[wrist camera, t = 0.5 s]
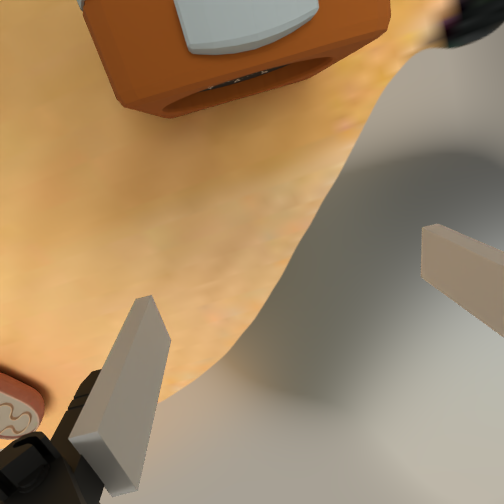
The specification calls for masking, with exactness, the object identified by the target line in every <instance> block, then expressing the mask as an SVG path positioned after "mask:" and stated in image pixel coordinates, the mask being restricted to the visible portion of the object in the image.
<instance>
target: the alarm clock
mask: <svg viewBox="0 0 504 504" xmlns="http://www.w3.org/2000/svg"><path fill="white" fill-rule="evenodd" d="M77 2H78V4H79V7H80V9H81V10H82V11H83V17H84V19H85V22H86V24H87V27H88V29H89V31H90V34H91V36H92V39H93V41H94V44H95V46H96V49H97V51H98V54H99V56H100V59H101V61H102V64H103V66H104V69H105V71H106V73H107V76H108V78H109V81H110V83H111V86H112V88H113V91H114V93H115V96H116V98H117V100H118V101H119V102H120V103H121V104H122V105H123V107H125V108H129V109H134V110H137V111H141V112H145V113H149V114H153V115H157V116H160V117H164V118H174V117H178V116H182V115H185V114H189V113H192V112H195V111H199V110H202V109H206V108H209V107H213V106H216V105H220V104H223V103H226V102H230V101H233V100H236V99H240V98H243V97H247V96H250V95H254V94H258V93H261V92H264V91H268V90H271V89H275V88H278V87H282V86H285V85H289V84H292V83H296V82H299V81H302V80H305V79H308V78H311V77H312V76H314V75H316V74H317V73H319V72H321V71H323V70H324V69H326V68H328V67H329V66H331V65H332V64H334V63H336V62H338V61H339V60H341V59H343V58H345V57H346V56H348V55H350V54H351V53H353V52H355V51H357V50H358V49H360V48H362V47H363V46H365V45H367V44H368V43H370V42H372V41H373V40H375V39H377V38H378V37H380V36H381V35H382V34H383V33H385V32H386V31H387V28H388V24H389V21H390V18H391V9H390V0H77Z"/></svg>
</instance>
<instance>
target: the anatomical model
mask: <svg viewBox="0 0 504 504" xmlns="http://www.w3.org/2000/svg"><path fill="white" fill-rule="evenodd" d="M43 415H44V401H43V398H42V396H41V395H40V393H39V392H38V391H37V390H36V389H34V388H32V387H30V386H28V385H26V384H24V383H22V382H20V381H18V380H16V379H14V378H12V377H10V376H8V375H6V374H3V373H1V372H0V439H7V440H11V439H18V438H20V437H21V436H23V435H25V434H28V433H31V432H34V431H36V430H37V428H38V427H39V425H40V423H41V421H42V418H43Z"/></svg>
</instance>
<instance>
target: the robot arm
mask: <svg viewBox="0 0 504 504" xmlns="http://www.w3.org/2000/svg"><path fill="white" fill-rule="evenodd" d="M421 255H422V256H421V278H423V279H424V280H425V281H427V282H428V283H430V284H431V285H433V286H434V287H435V288H436V289H438V290H439V291H441V292H442V293H443V294H445V295H446V296H447V297H449V298H450V299H452V300H453V301H454V302H456V303H457V304H458V305H460V306H461V307H463V308H464V309H465V310H467V311H468V312H469V313H471V314H472V315H474V316H475V317H476V318H478V319H479V320H481V321H482V322H483V323H485V324H486V325H488V326H489V327H490V328H491V329H493V330H494V331H496V332H497V333H498V334H500V335H501V336H502V337H504V252H503V251H501V250H498V249H496V248H494V247H491V246H489V245H487V244H484V243H482V242H479V241H477V240H475V239H473V238H470V237H468V236H465V235H463V234H461V233H459V232H456V231H454V230H452V229H449V228H447V227H445V226H442V225H440V224H434V225H430V226H426V227H422V252H421ZM170 343H171V339H170V336H169V334H168V332H167V330H166V327H165V325H164V323H163V320H162V318H161V316H160V313H159V311H158V309H157V306H156V304H155V302H154V299H153V297H152V295H150V296H146V297H142V298H138V299H135V301H134V304H133V306H132V308H131V310H130V312H129V314H128V316H127V318H126V320H125V322H124V324H123V326H122V328H121V330H120V332H119V334H118V337H117V339H116V341H115V343H114V345H113V347H112V349H111V351H110V353H109V355H108V357H107V359H106V361H105V363H104V365H103V367H102V369H100V370H96V371H92V372H91V373H90V375H89V376H88V377H87V378H86V379H85V380H84V381H83V382H82V383H81V385H80V386H79V388H78V390H77V392H76V394H75V396H74V400H72V401H71V403H70V405H69V407H68V411H66V412H65V414H64V416H63V418H62V420H61V422H60V424H59V425H58V427H57V429H56V431H55V433H54V435H53V437H52V438H51V440H49V439H48V438H47V437H46V435H45V434H44V433H43V432H35V431H34V432H31V433H28V434H25V435H23V436H21V437H20V438H18V439H16V440H15V441H13V442H12V443H10V444H9V445H8V446H7V447H6V448H4V449H3V450H2V451H1V452H0V504H100V503H99V500H100V497H101V494H102V491H103V488H104V487H105V488H106V489H107V491H108V492H109V493H110V495H111V496H112V497H115V496H119V495H123V494H127V493H130V492H135V491H138V487H139V483H140V478H141V474H142V469H143V464H144V460H145V456H146V451H147V446H148V442H149V438H150V433H151V429H152V424H153V420H154V414H155V411H156V406H157V402H158V397H159V393H160V388H161V384H162V379H163V375H164V370H165V365H166V361H167V356H168V352H169V347H170Z"/></svg>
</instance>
